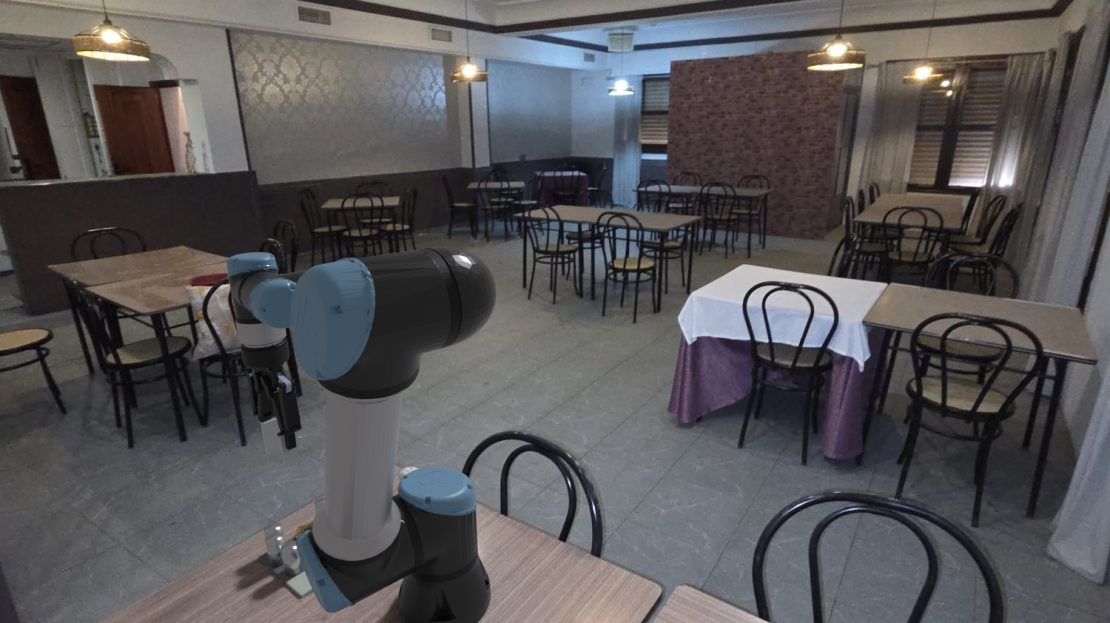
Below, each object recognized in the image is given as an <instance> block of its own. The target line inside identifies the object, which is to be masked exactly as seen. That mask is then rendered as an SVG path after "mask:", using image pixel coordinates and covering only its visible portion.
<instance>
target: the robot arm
mask: <svg viewBox="0 0 1110 623" xmlns="http://www.w3.org/2000/svg"><path fill="white" fill-rule="evenodd" d="M226 260H227V261H226V268H227V276H226V278H227V280H228V282H229V288H230V293H231V299H232V304H233V311H234V315H235V325H236V326H235V327H236V330H237V331H236V332H237V338H238V343H240V344H241V345H240V353H241V358H242V363H243V365H244V366H245V367H244V371H245V375H246V377H247V378H246V379H247V383H248V390H249V397H250V403H251V411H252V414H253V416H255V417H256V416H257V420H258V421H259V422H260V427H261V428H260V429H261V433H262V438H263V446H264V452H265V455H266V456H270V455H272V454H275V453H277V452H279V451H280V454H281V460H282V465H283V467H288V466H289V465H292V464H294V463H297V462H299V461H300V456H299V450H298V444H297V436H296V432H298V431H300V430H302V423H301V421H302V420H301V418H300V417H301V416H300V412H299V406H298V399H297V393H296V389H297V388H296V380H295V379H294V378H291V379H289V380H288V378H287V375H286V372H285V369H284V364H286V362H287V361H288V360H289V359H290V356H291V354H290V348H289V341H288V339H287V338H286V336H287V331H286V329H288V328H289V329H290V330H291V331H292V333H293V334H292V335H293V338H292V346H293V349H294V352H295V355H296V358H297V360H298V363H299V365H300V367H301V368H302V370H303V372H304V373H305V374H306V375H307V376H308V377H310V378H311V379H314V381H315V382H316V383H317V385H319V386H320V388H321V389H323V390H324V391H326V396H325V397H326V399H325V400H326V402H325V405H326V406H325V458H324V459H325V461H324V462H325V464H324V465H325V467H324V471H325V472H324V479H325V480H324V497H325V502H324V504H323V505H322V506H321V507H320V508H319V509H318V511H317V513H316V512H315V514H314V517H313V527H312V530H311V531H310V530H307V531H305V532H304V534H302V535H300V536H299V537H298V538H297V540H296V547H297V551H298V554H299V557H300V560H301V563H302V565H303V568H304V571H305V573H306V576H307V578H308V580H309V583H310V585H311V587H312V590H313V591H312V593H313V594H314V595H315V598H316V600H317V601H318V603H319V605H320V607H321V608H322V609H323V610H324V611H325V612H327V613H330V614H334V613H337V612H340V611H342V610H344V609H346V608H348V607H353V606H355V605H356V604H358V603H359V602H361V601H363V600H365V599H367V598H369V597H371V596H373V595H374V594H376V593H378V592H380V591H382V590H383V589H386V588H387V587H389V586H391V585H393V584H395V583H397V582H398V581H401V580H402V582H401V584H400V587H399V589H398V590H399V591H398V594H397V596H398V597H397V600H398V602H397V603H398V612H399V616H400V618H401V620H402V622H403V623H477V622H478V621H479V620H480V619H481V618H482V617H483V616H484V614H485V613H486V612H487V610H488V608H489V606H490V604H491V603H490V602H491V597H492V593H491V592H492V591H491V589H492V588H491V580H490V577H489V574H488V572H487V569H486V568H485V566H484V564H483V562H482V560H481V558H480V555H479V545H478V544H479V543H478V541H479V539H478V525H477V524H478V522H477V521H478V520H477V507H478V503H477V502H478V501H477V499H476V498H477V497H476V491H475V488H474V487H475V486H474V483H473V482H472V479H471V478H469V476H467V475H466V474H464V473H463V472H462V471H459V470H457V469H454V468H451V467H443V466H428V467H427V466H426V467H425V466H424V468H423V467H420V468H418V469H416V470H414V471H411V472H409V473H407V474H406V475H405V476H404V477H403V478H402V479H401V481H399V482H398V485H397V494H394V487H395V475H396V467H397V456H398V447H399V437H400V426H401V417H402V411H403V410H402V409H403V408H402V407H403V399H404V393H405V392H406V391H408V390H409V389H410V388H411V387H412V386H413V385H414V383H415V382H416V381H417V379H418V376H419V372H420V366H421V365H420V364H421V358H422V355H424V354H427V353H430V352H432V351H437V350H440V349H445V348H447V347H451V346H455V345H457V344H460V343H462V342H464V341H466V340H468V339H470V338H472V337H473V336H474V335H475V334H477V333H478V332H479V331H480V330H482V328H483V327H484V326H485V325H486V323H488V322H489V319H490V318H491V317H492V313H493V312H494V308H495V305H496V299H497V288H496V283H495V279H494V276H493V274H492V272H491V271H490V268H489V266H488V265H487V264H486V263H485V262H484V261H483V260H482V259H481V258H480V257H479V256H477V255H475V254H474V253H473V252H471V251H468V250H466V249H462V248H460V247H459V248H458V247H453V246H452V247H451V246H434V247H427V248H426V247H425V248H421V249H415V250H414V249H412V250H407V251H401V252H399V251H398V252H394V253H385V254H381V255H373V256H367V257H360V258H356V257H344V258H341V259H340V258H339V259H338V260H336V261H332V262H327V263H323V264H317V265H314V266H312V267H310V268H309V269H307V270H301V271H296V272H295V271H294V272H293V271H292V272H288V273H283V274H282V273H280V274H278V271H279V267H278V265H277V261H276V257H275V255H274V254H272V253H270V252H264V251H263V252H262V251H261V252H259V251H257V252H256V251H255V252H254V251H253V252H244V253H238V254H234V255H232V256H230V257H228V258H227V259H226ZM279 430H280V431H279Z"/></svg>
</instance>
